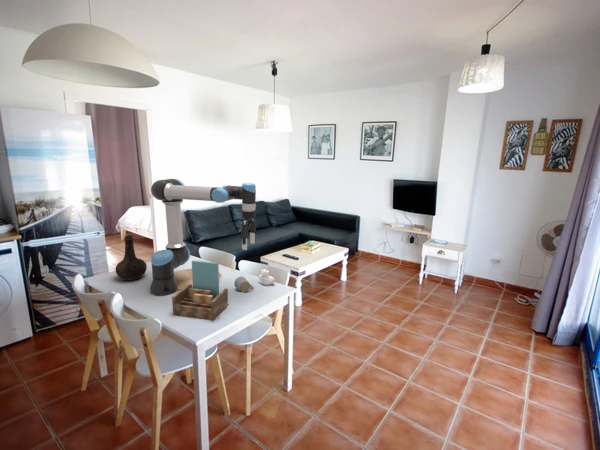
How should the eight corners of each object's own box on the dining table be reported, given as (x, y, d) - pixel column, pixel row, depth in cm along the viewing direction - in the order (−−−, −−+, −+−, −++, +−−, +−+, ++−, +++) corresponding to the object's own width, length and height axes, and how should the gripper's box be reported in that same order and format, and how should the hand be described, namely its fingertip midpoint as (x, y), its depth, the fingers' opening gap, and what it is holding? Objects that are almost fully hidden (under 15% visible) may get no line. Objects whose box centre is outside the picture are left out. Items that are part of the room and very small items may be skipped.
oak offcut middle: (189, 307, 164) (188, 289, 162) (190, 305, 165) (190, 287, 163) (210, 309, 162) (210, 291, 159) (212, 308, 163) (211, 290, 161)
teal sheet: (193, 304, 167) (191, 261, 162) (195, 303, 168) (193, 260, 163) (218, 307, 164) (217, 263, 159) (219, 306, 166) (218, 262, 161)
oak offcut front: (193, 311, 160) (193, 294, 158) (195, 309, 161) (194, 293, 159) (212, 313, 158) (211, 296, 156) (213, 312, 159) (213, 295, 157)
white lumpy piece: (258, 285, 204) (251, 275, 196) (263, 275, 208) (257, 265, 200) (273, 289, 198) (267, 279, 190) (278, 279, 202) (273, 269, 195)
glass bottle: (127, 285, 191) (123, 241, 185) (110, 279, 200) (106, 236, 194) (153, 276, 206) (150, 235, 200) (136, 271, 215) (133, 231, 209)
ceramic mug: (239, 294, 184) (240, 281, 183) (234, 289, 191) (234, 277, 189) (255, 290, 191) (256, 278, 189) (249, 286, 197) (250, 274, 195)
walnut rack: (172, 318, 155) (171, 297, 153) (191, 302, 172) (190, 283, 170) (214, 323, 151) (213, 302, 149) (229, 306, 169) (228, 287, 166)
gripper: (247, 214, 166) (247, 253, 171) (261, 207, 190) (261, 241, 195) (234, 213, 167) (234, 251, 172) (249, 206, 191) (249, 240, 196)
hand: (248, 246), depth 183 cm, fingers open, 13 cm apart
